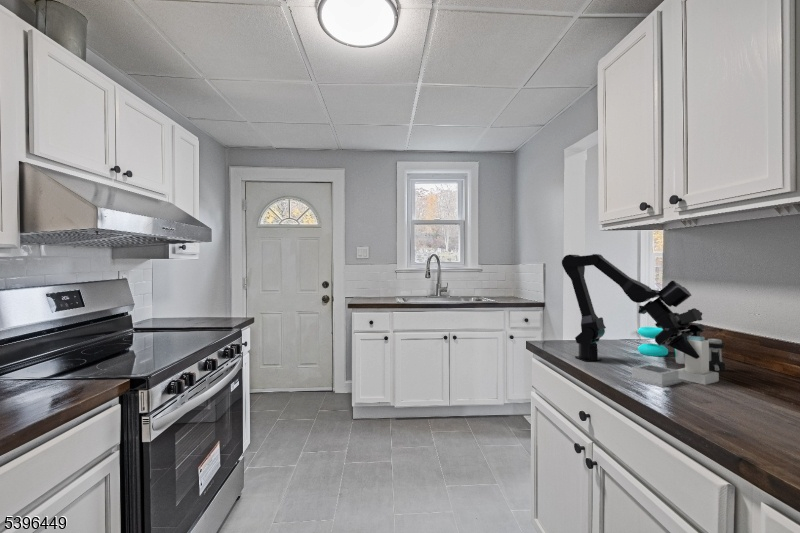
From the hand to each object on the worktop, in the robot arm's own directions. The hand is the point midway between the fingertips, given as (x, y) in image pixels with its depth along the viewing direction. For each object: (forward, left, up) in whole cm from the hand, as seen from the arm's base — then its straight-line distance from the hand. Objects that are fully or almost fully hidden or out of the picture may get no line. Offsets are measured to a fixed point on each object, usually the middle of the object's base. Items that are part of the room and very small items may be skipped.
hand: (702, 357), depth 120 cm
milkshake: (-19, +13, -7) cm, 24 cm away
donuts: (-33, +15, -7) cm, 37 cm away
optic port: (-3, -13, -7) cm, 15 cm away
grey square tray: (-1, 0, -7) cm, 7 cm away
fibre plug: (-1, 0, -7) cm, 7 cm away
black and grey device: (-9, +15, -7) cm, 19 cm away
